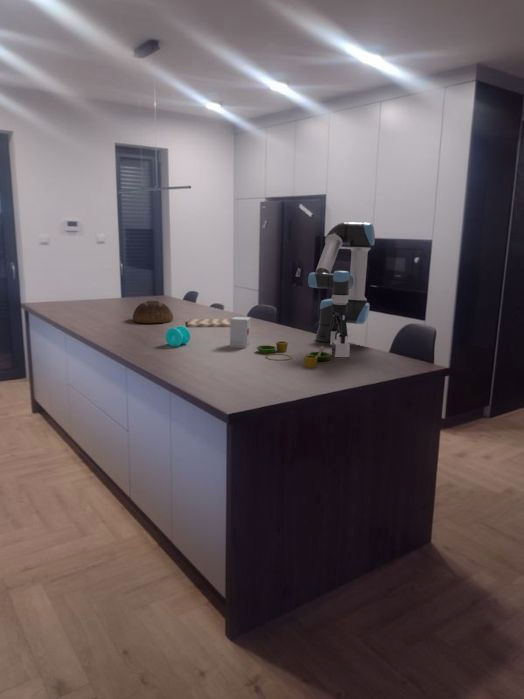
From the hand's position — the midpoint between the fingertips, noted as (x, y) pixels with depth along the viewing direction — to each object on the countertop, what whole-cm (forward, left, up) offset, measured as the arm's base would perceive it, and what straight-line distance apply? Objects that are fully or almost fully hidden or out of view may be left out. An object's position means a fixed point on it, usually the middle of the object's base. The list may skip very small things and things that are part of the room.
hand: (337, 347), depth 260 cm
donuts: (+76, -31, -5) cm, 82 cm away
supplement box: (+44, -27, -5) cm, 52 cm away
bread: (+91, -110, -5) cm, 143 cm away
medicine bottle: (-2, 0, -5) cm, 5 cm away
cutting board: (+54, -95, -5) cm, 110 cm away
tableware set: (+21, +2, -6) cm, 22 cm away
